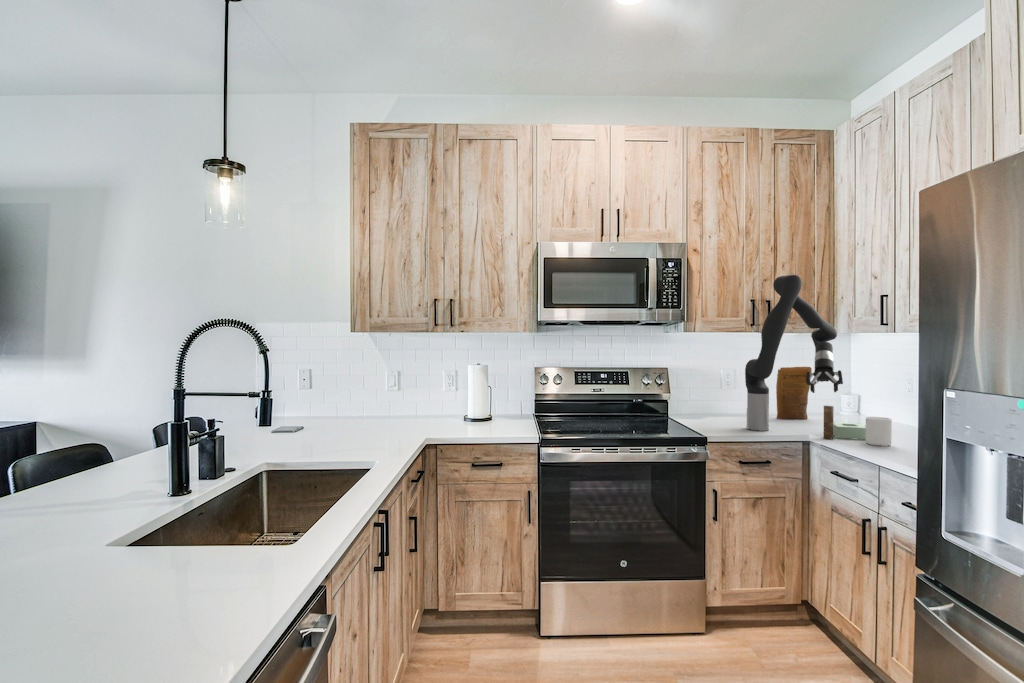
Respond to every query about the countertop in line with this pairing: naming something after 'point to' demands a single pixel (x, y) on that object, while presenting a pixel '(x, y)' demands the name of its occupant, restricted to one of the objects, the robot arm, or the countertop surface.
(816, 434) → the countertop surface
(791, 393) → the pancake mix bag
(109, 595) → the countertop surface
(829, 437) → the dowel
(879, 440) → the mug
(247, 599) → the countertop surface
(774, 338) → the robot arm
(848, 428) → the socket block
